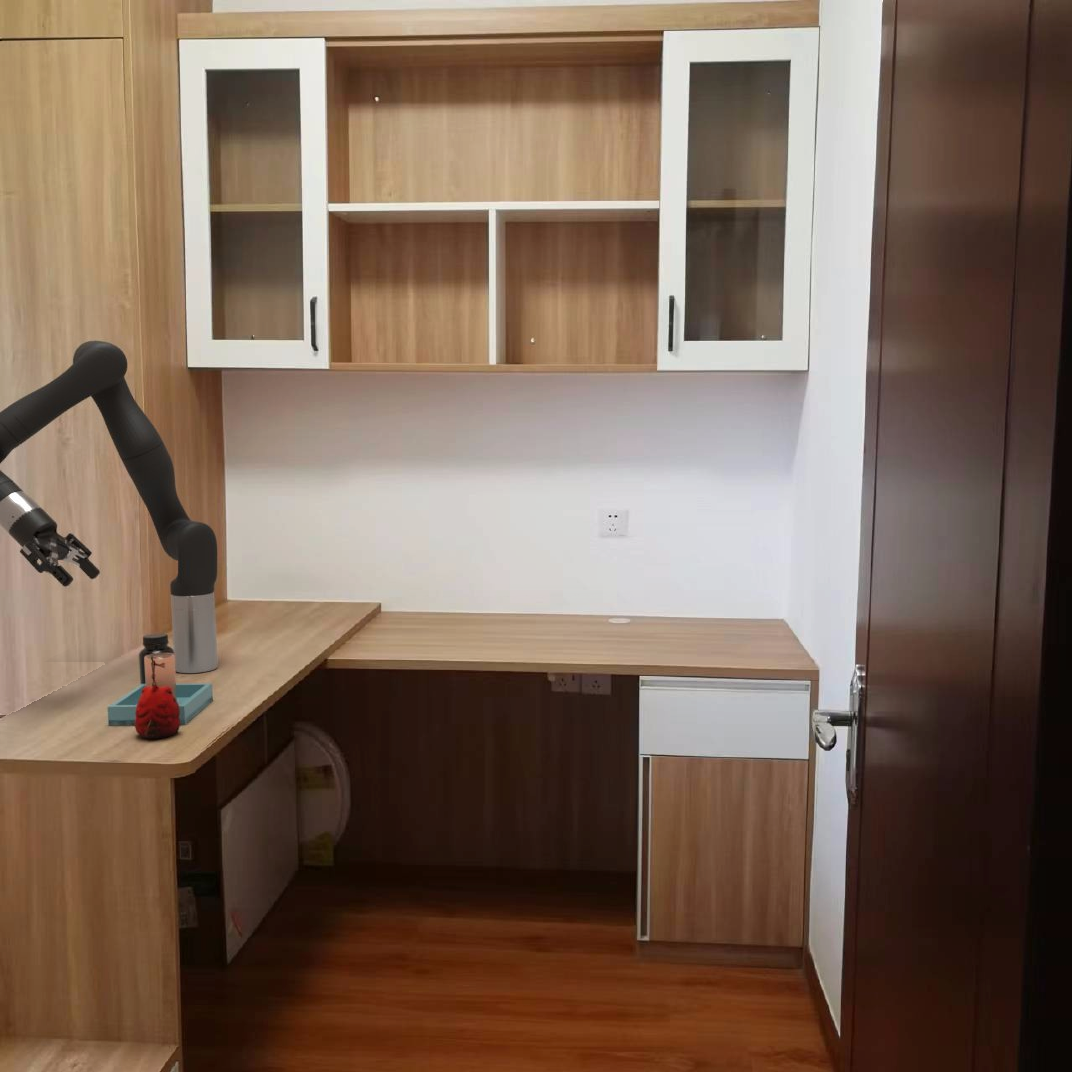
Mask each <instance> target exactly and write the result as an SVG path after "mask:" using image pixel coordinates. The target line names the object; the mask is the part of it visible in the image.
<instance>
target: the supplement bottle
mask: <svg viewBox="0 0 1072 1072" xmlns="http://www.w3.org/2000/svg"><path fill="white" fill-rule="evenodd" d="M142 646H143V648H142V649H141V650H140V651H139V652H138V666H139V681H140V685H141V684H146V682H145V664H144V657H145V656H147V655H150V654H155V653H173V654H174V648H172V647H170V646H169V635H168V634H167V633H151V634H146V635H143V636H142Z"/></svg>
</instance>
